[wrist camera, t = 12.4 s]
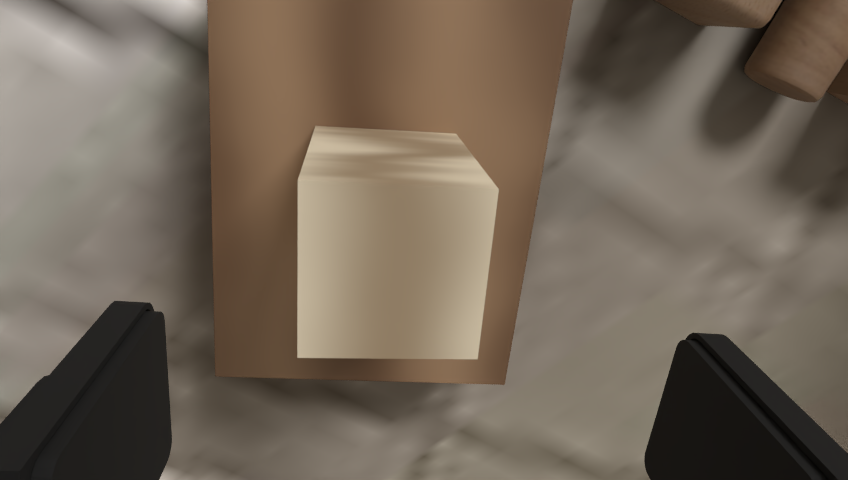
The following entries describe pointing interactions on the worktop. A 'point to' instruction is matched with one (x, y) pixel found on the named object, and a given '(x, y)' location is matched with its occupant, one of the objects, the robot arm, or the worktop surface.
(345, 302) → the maple block
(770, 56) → the wooden block set
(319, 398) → the worktop surface
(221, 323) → the walnut block
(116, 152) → the worktop surface
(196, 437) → the worktop surface
